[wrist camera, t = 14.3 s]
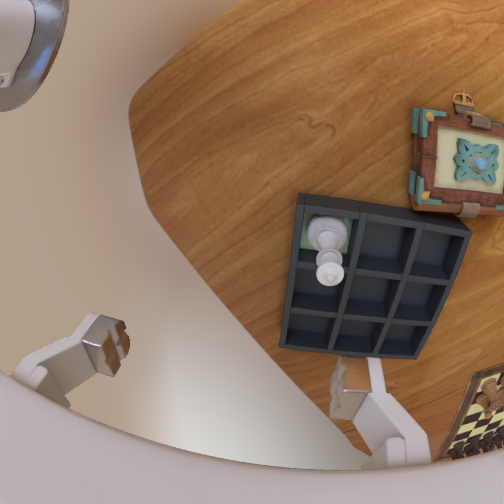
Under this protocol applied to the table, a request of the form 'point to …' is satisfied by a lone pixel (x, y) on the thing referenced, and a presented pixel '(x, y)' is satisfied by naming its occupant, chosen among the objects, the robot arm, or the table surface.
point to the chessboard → (477, 416)
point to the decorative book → (457, 162)
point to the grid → (371, 280)
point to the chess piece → (328, 246)
